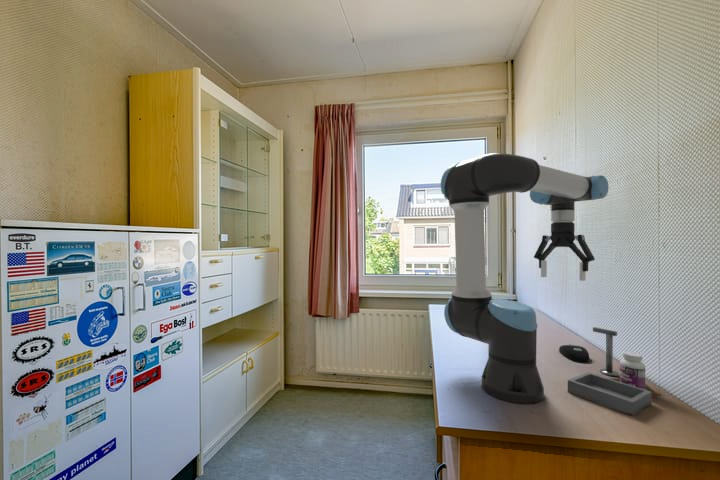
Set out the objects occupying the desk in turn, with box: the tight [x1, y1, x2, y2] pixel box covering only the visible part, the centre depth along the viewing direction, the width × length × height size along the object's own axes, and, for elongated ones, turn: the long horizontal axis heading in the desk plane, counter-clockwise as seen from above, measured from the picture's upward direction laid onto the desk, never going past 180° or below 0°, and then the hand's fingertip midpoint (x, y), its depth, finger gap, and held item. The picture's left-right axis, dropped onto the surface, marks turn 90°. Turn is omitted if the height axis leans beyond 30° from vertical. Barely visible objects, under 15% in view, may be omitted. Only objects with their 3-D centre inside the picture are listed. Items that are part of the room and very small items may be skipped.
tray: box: [567, 371, 652, 417], centre depth 82 cm, size 11×14×3 cm
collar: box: [605, 376, 663, 399], centre depth 88 cm, size 9×9×1 cm
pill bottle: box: [619, 351, 646, 390], centre depth 88 cm, size 5×5×10 cm
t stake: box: [592, 326, 620, 378], centre depth 99 cm, size 4×6×13 cm
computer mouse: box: [558, 343, 590, 364], centre depth 113 cm, size 8×12×4 cm, turn 167°
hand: (562, 278), depth 120 cm, fingers open, 13 cm apart
